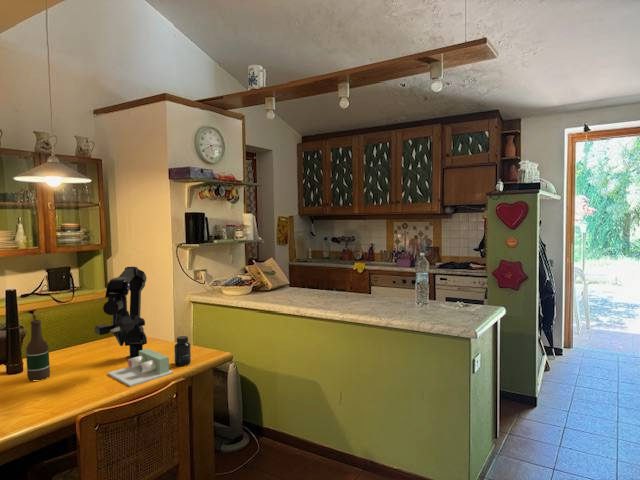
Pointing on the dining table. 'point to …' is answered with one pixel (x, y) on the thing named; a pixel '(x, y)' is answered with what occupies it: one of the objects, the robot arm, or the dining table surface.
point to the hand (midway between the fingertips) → (121, 345)
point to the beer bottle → (37, 354)
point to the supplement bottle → (182, 351)
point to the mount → (135, 377)
